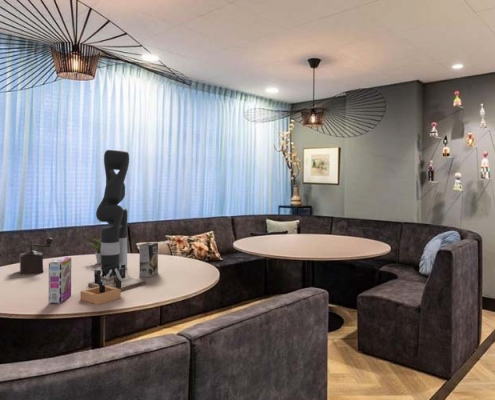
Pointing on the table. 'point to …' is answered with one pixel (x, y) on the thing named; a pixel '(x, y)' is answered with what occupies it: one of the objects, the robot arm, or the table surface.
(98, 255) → the house plant
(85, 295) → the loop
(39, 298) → the table surface
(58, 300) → the candy bar box
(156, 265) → the coffee box
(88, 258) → the table surface
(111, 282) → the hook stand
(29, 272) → the manual coffee grinder
